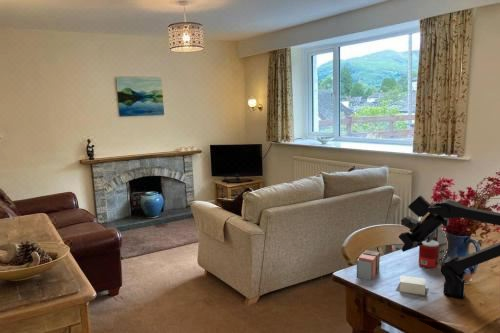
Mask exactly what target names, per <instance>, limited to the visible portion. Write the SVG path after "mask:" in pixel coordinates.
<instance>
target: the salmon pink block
mask: <svg viewBox="0 0 500 333" xmlns="http://www.w3.org/2000/svg"><path fill="white" fill-rule="evenodd" d="M358 258H359V260H361V261H366V262H372V265H371V280H374V278H375V277H376V274H375V273H376V256H370V255H365V254H363V253H361V254H360V255H359V256H358Z"/></svg>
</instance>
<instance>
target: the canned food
mask: <svg viewBox="0 0 500 333" xmlns="http://www.w3.org/2000/svg"><path fill="white" fill-rule="evenodd" d="M427 240H428V239H427ZM427 240H426V241H427ZM426 241H423V242H422V243H423V245H421V246H418V247H419V248H418V265H419V266H420V267H421V268H422V269H423V268H424V269H428V270H434V269H437V268H438V266H439V259H438V258H439V243H438V242H437V241H434V240H431V241H430V242H428V243H427V242H426Z"/></svg>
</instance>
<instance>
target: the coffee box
mask: <svg viewBox="0 0 500 333" xmlns="http://www.w3.org/2000/svg"><path fill="white" fill-rule="evenodd" d="M432 235H433V239H432V240H434V241H437V242H438V243H439V258H438V260H441V259H444V258H443V257H444V255H445V254H446V251H447V240H446V236H445V233H444V232H443V231H442V229H441V226H439V227H438V228H437V229H436V230H435V233H434V234H432Z"/></svg>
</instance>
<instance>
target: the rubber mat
mask: <svg viewBox="0 0 500 333" xmlns="http://www.w3.org/2000/svg"><path fill="white" fill-rule="evenodd" d="M429 290H430V288H427V287H425V295H421V294H414V293H407V292H402V293H404V294H408V295H412V296H416V297H421V298H425V299H426V297H427V295H428V292H429ZM395 292H398V293H401V292H400V282H399V284H398V285H397V287H396V289H395Z"/></svg>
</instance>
